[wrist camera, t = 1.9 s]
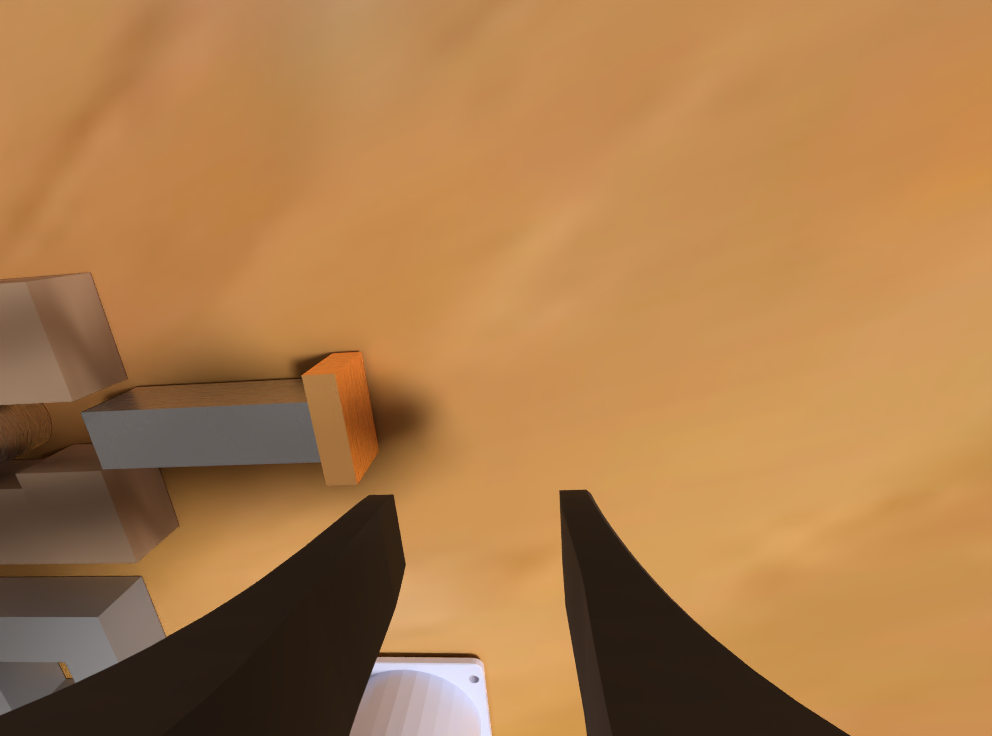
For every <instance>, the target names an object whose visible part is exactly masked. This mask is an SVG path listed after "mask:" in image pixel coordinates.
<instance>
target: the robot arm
mask: <svg viewBox="0 0 992 736" xmlns="http://www.w3.org/2000/svg"><path fill="white" fill-rule="evenodd" d="M559 491H560V515H561V539H562V563H563V577H564V591H565V604H566V611H567V617H568V623H569V629H570V635H571V640H572V646H573V652H574V658H575V663H576V669H577V675H578V681H579V686H580V692H581V698H582V704H583V709H584V716H585V723H586V730H587V736H850V735H848V734H847V733H845V732H844V731H842V730H841V729H839V728H837V727H836V726H834V725H833V724H831V723H830V722H828V721H826V720H825V719H823V718H822V717H820V716H819V715H817V714H816V713H814V712H812V711H811V710H809V709H808V708H806V707H805V706H803V705H802V704H800V703H799V702H797V701H796V700H794V699H793V698H792V697H790V696H789V695H787V694H786V693H785V692H783V691H782V690H780V689H779V688H778V687H776V686H775V685H774V684H772V683H771V682H769V681H768V680H767V679H765V678H764V677H762V676H761V675H760V674H758V673H757V672H756V671H754V670H753V669H752V668H750V667H749V666H748V665H747V664H745V663H744V662H743V661H742V660H741V659H739V658H738V657H737V656H736V655H734V654H733V653H732V652H731V651H729V650H728V649H727V648H726V647H725V646H723V645H722V644H721V643H720V642H718V641H717V640H716V639H715V638H713V637H712V636H711V635H710V634H709V633H708V632H706V631H705V630H704V629H703V628H702V627H701V626H700V625H699V624H698V623H697V622H695V621H694V620H693V619H692V618H691V617H690V616H689V615H688V614H687V613H686V612H685V611H684V610H683V609H682V608H681V607H680V606H679V605H678V604H677V603H676V602H675V601H673V600H672V599H671V598H670V596H669V595H668V594H667V593H666V592H665V591H664V590H663V589H662V588H661V587H660V586H659V585H658V584H657V583H656V582H655V581H654V579H653V578H652V577H651V576H650V575H649V574H648V573H647V571H646V570H645V569H644V568H643V567H642V566H641V565H640V563H639V562H638V561H637V560H636V559H635V557H634V556H633V555H632V554H631V552H630V551H629V550H628V549H627V547H626V546H625V545H624V543H623V542H622V541H621V539H620V538H619V537H618V535H617V534H616V533H615V531H614V530H613V529H612V527H611V526H610V524H609V523H608V521H607V520H606V518H605V517H604V515H603V514H602V512H601V511H600V509H599V507H598V506H597V504H596V502H595V500H594V499H593V497H592V495H591V493H589V492H588V491H587V490H559ZM405 566H406V564H405V558H404V552H403V547H402V541H401V535H400V529H399V523H398V518H397V512H396V506H395V500H394V495H369V496H367V497H366V498H364V499H363V500H362V501H360V502H359V503H358V504H356V505H355V506H354V507H353V508H352V509H350V510H349V511H348V512H347V513H345V514H344V515H343V516H342V517H341V518H339V519H338V520H337V521H336V522H334V523H333V524H332V525H331V526H330V527H328V528H327V529H326V530H325V531H323V532H322V533H321V534H320V535H318V536H317V537H316V538H315V539H314V540H312V541H311V542H310V543H309V544H307V545H306V546H305V547H304V548H302V549H301V550H300V551H298V552H297V553H296V554H294V555H293V556H292V557H290V558H289V559H288V560H286V561H285V562H284V563H282V564H281V565H280V566H278V567H277V568H276V569H274V570H273V571H272V572H270V573H269V574H267V575H266V576H265V577H263V578H262V579H261V580H259V581H258V582H256V583H255V584H253V585H252V586H250V587H249V588H247V589H246V590H244V591H243V592H242V593H240V594H238V595H237V596H235V597H234V598H232V599H231V600H229V601H227V602H226V603H224V604H223V605H221V606H220V607H218V608H216V609H215V610H213V611H212V612H210V613H208V614H207V615H205V616H203V617H202V618H200V619H198V620H196V621H194V622H193V623H191V624H189V625H187V626H186V627H184V628H182V629H180V630H178V631H177V632H175V633H173V634H171V635H169V636H168V637H166V638H164V639H162V640H161V641H159V642H157V643H155V644H153V645H152V646H150V647H148V648H146V649H144V650H142V651H140V652H138V653H136V654H134V655H132V656H130V657H128V658H126V659H124V660H122V661H120V662H118V663H116V664H114V665H112V666H110V667H108V668H106V669H104V670H102V671H100V672H98V673H96V674H93V675H91V676H89V677H87V678H85V679H83V680H81V681H79V682H76V683H74V684H72V685H70V686H68V687H65V688H63V689H61V690H59V691H57V692H54V693H52V694H50V695H47V696H45V697H42V698H40V699H38V700H35V701H33V702H31V703H28V704H26V705H24V706H21V707H19V708H16V709H14V710H12V711H9V712H7V713H5V714H2V715H0V736H492V732H491V723H490V715H489V706H488V698H487V689H486V681H485V672H484V665H483V663H482V662H481V661H480V660H479V659H477V658H442V657H378V654H379V651H380V649H381V646H382V643H383V641H384V638H385V635H386V633H387V630H388V627H389V624H390V622H391V619H392V616H393V613H394V610H395V608H396V604H397V600H398V596H399V592H400V588H401V584H402V579H403V575H404V570H405Z"/></svg>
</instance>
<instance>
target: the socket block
mask: <svg viewBox="0 0 992 736" xmlns="http://www.w3.org/2000/svg"><path fill="white" fill-rule="evenodd" d="M126 379H127V376H126V373H125V370H124V367H123V364H122V362H121V359H120V356H119V353H118V350H117V347H116V344H115V342H114V339H113V336H112V333H111V330H110V327H109V325H108V322H107V319H106V316H105V313H104V310H103V307H102V305H101V302H100V299H99V296H98V293H97V290H96V288H95V285H94V282H93V279H92V276H91V273H79V274H66V275H53V276H41V277H28V278H15V279H2V280H0V405H12V404H32V403H53V402H73V401H75V400H78V399H80V398H83V397H85V396H87V395H90V394H92V393H95V392H97V391H99V390H102V389H104V388H107V387H109V386H111V385H114V384H116V383H119V382H121V381H123V380H126ZM178 526H179V524H178V521H177V518H176V515H175V512H174V509H173V507H172V504H171V501H170V498H169V495H168V492H167V490H166V487H165V484H164V481H163V478H162V475H161V472H160V470H159V468H129V469H103V468H102V466H101V463H100V461H99V458H98V456H97V453H96V450H95V448H94V445H93V444H73V445H71V446H69V447H67V448H65V449H63V450H61V451H59V452H57V453H55V454H53V455H51V456H49V457H47V458H45V459H36V460H9V461H7V462H5V463H3V464H1V465H0V565H2V564H94V563H138V562H139V561H140V560H141V559H142V558H143V557H144V556H146V555H147V554H148V553H149V552H150V551H151V550H152V549H153V548H155V547H156V546H157V545H158V544H159V543H160V542H161V541H162V540H164V539H165V538H166V537H167V536H168V535H169V534H170V533H171V532H173V531H174V530H175V529H176V528H177V527H178Z"/></svg>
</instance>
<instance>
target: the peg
mask: <svg viewBox="0 0 992 736" xmlns="http://www.w3.org/2000/svg"><path fill="white" fill-rule="evenodd" d="M51 429H52V425H51V419H50V416H49V414H48V412H47V410H46V408H45V407H44V405H43V404H42V403H32V404H12V405H0V465H1V464H3V463H5V462H7V461H9V460H12V459H14V458H16V457H18V456H20V455H22V454H24V453H26V452H28V451H30V450H33V449H35V448H37V447H39V446H41V445H43V444H44V443H45V442H46V441H47V440H48V439H49V437H50V435H51Z"/></svg>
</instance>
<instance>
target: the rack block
mask: <svg viewBox="0 0 992 736" xmlns="http://www.w3.org/2000/svg"><path fill="white" fill-rule="evenodd" d="M164 638H166V636H165V634H164V631H163V629H162V626H161V624H160V621H159V619H158V616H157V614H156V611H155V609H154V606H153V604H152V601H151V599H150V596H149V594H148V591H147V589H146V586H145V584H144V581H143V579H142V576H121V577H0V715H2V714H5V713H7V712H9V711H12V710H14V709H16V708H19V707H21V706H24V705H26V704H28V703H31V702H33V701H35V700H38V699H40V698H42V697H45V696H47V695H50V694H52V693H54V692H57V691H59V690H61V689H63V688H65V687H68V686H70V685H72V684H74V683H76V682H79V681H81V680H83V679H85V678H87V677H89V676H91V675H93V674H96V673H98V672H100V671H102V670H104V669H106V668H108V667H110V666H112V665H114V664H116V663H118V662H120V661H122V660H124V659H126V658H128V657H130V656H132V655H134V654H136V653H138V652H140V651H142V650H144V649H146V648H148V647H150V646H152V645H153V644H155V643H157V642H159V641H161V640H162V639H164ZM58 662H65V663H66V665H67V667H68V669H69V671H70V673H71V675H72V677H73V679H66V678H65V676H64V674H63V672H62V670H61V668H60V666H59V664H58Z"/></svg>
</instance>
